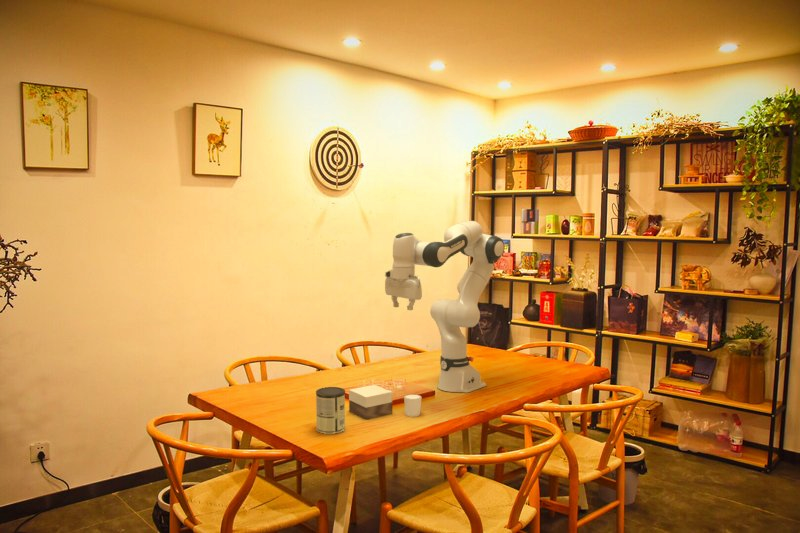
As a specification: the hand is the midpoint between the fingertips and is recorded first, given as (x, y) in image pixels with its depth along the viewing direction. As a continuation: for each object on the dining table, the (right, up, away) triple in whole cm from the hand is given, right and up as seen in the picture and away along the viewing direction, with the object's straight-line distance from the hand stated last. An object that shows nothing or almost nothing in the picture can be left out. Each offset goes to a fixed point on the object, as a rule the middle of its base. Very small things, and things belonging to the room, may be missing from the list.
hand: (402, 308), depth 247 cm
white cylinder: (+4, -40, -9) cm, 41 cm away
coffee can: (-26, -42, -26) cm, 55 cm away
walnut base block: (-13, -40, -7) cm, 43 cm away
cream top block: (-13, -35, -8) cm, 38 cm away
